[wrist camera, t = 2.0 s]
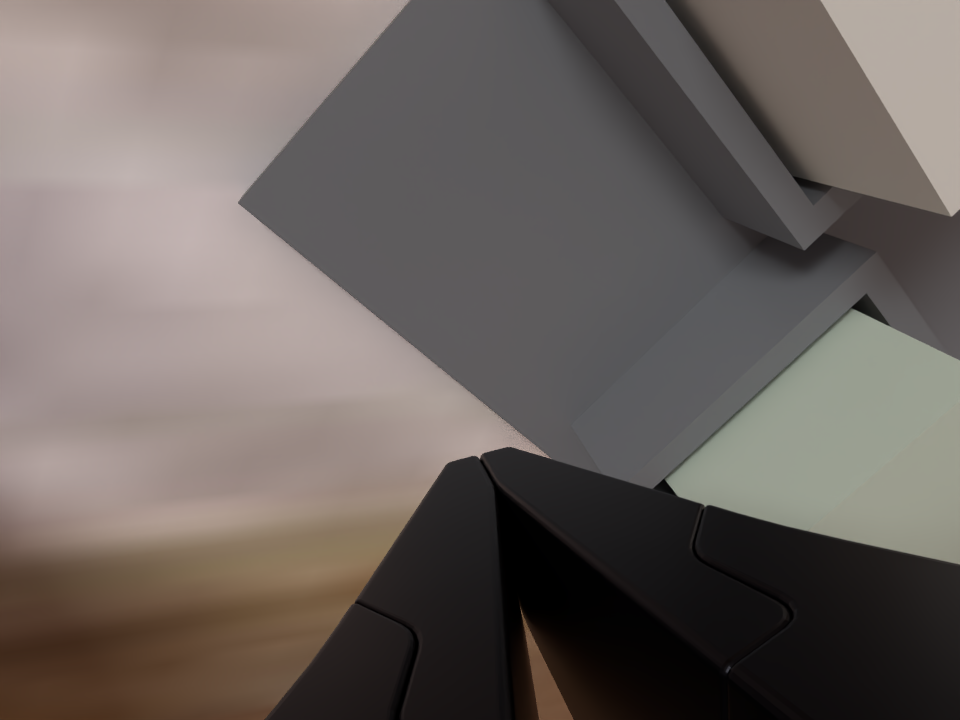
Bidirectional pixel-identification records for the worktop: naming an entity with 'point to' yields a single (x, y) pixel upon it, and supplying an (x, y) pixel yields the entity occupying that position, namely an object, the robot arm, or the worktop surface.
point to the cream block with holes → (846, 88)
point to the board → (589, 225)
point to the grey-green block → (845, 444)
